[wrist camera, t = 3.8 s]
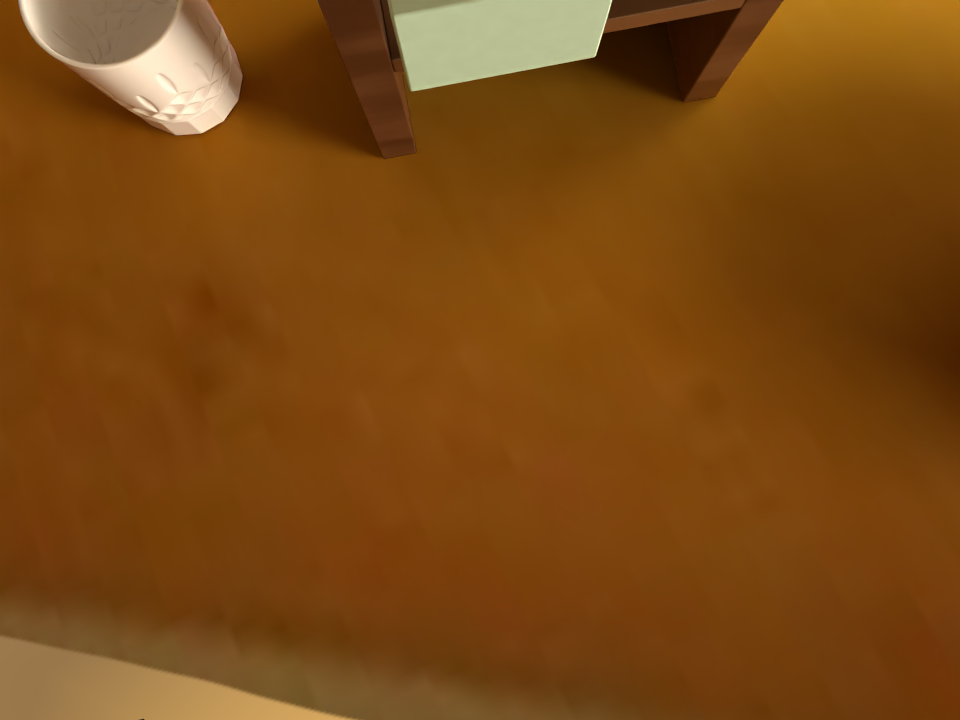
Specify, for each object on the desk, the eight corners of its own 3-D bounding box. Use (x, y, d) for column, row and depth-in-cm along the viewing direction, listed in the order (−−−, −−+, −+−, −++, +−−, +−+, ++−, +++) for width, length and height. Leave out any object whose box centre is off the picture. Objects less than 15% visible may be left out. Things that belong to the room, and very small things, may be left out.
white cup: (107, 40, 45) (-2, -66, 35) (232, 2, 45) (159, -115, 35) (142, 162, 44) (41, 90, 35) (268, 123, 45) (204, 39, 35)
